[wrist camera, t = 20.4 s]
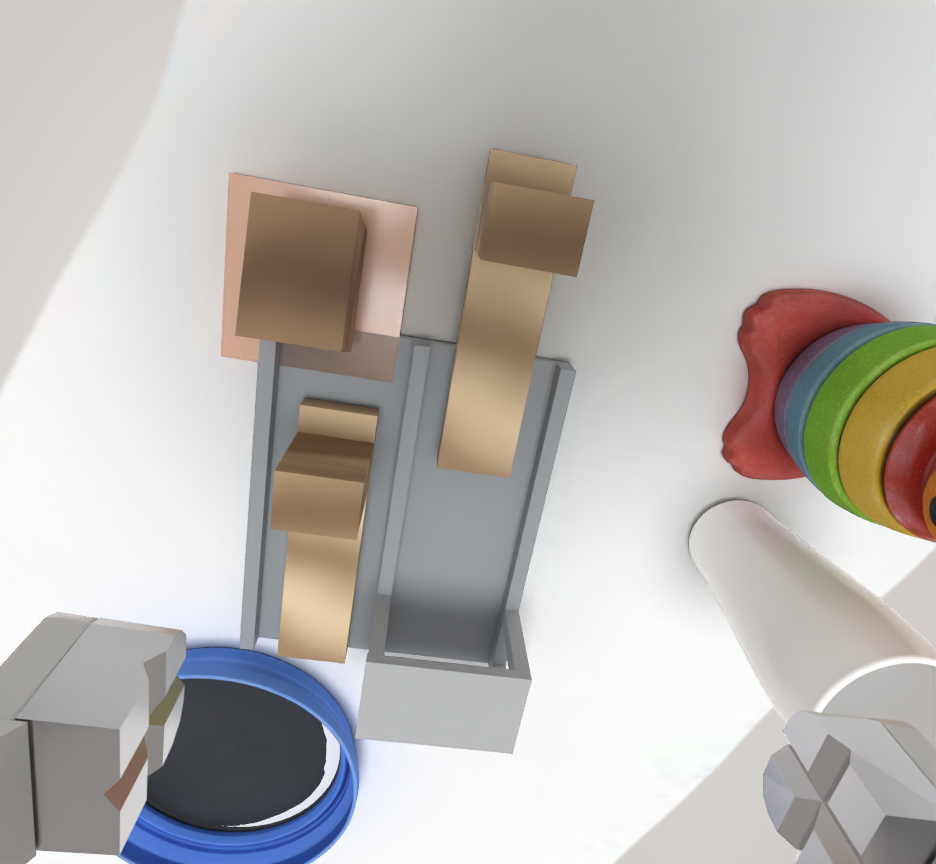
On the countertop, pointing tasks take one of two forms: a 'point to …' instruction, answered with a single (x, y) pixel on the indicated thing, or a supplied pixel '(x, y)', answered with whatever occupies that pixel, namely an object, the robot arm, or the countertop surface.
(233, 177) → the coaster
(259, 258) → the walnut block
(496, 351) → the strip near
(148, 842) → the blue round shallow tray
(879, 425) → the stacking bear
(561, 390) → the lane board
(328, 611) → the strip far
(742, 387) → the countertop surface
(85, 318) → the countertop surface
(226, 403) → the countertop surface
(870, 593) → the drinking glass
